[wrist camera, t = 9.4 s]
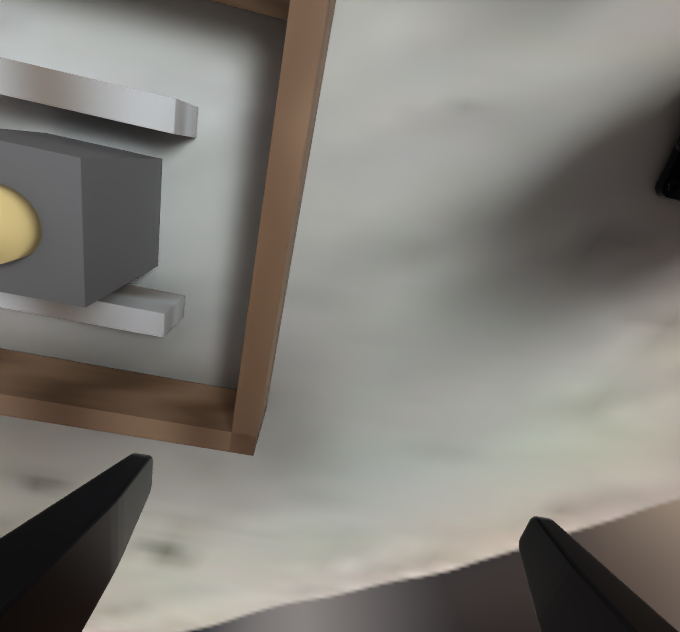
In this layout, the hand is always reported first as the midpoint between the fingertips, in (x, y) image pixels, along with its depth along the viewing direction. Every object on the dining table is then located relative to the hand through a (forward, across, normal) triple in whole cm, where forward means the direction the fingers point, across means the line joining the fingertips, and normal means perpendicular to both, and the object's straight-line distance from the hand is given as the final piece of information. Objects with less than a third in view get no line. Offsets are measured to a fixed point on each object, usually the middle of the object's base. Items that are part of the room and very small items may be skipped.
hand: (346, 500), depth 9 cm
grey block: (+12, +12, -3) cm, 17 cm away
